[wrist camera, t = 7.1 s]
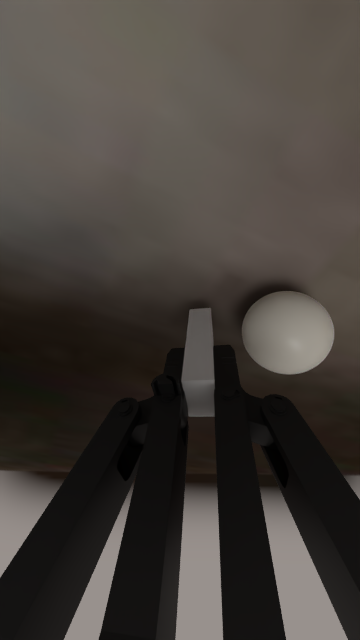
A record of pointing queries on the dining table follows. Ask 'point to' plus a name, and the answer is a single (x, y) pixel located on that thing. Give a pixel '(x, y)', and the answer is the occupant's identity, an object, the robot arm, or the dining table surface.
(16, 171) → the dining table surface
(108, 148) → the dining table surface
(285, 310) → the ivory ball
